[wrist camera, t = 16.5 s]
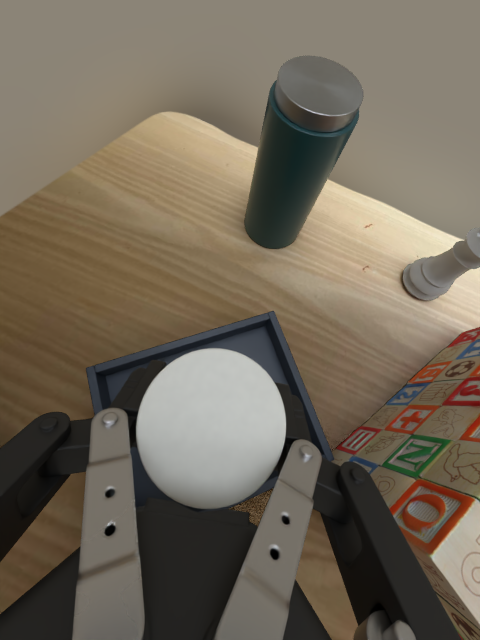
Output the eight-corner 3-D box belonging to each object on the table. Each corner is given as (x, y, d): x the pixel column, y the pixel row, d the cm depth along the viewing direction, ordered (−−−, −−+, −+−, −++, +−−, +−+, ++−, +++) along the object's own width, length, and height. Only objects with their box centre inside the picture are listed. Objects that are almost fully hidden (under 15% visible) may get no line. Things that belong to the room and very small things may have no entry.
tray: (132, 539, 18) (121, 558, 16) (98, 372, 21) (85, 367, 19) (321, 453, 21) (335, 459, 19) (267, 319, 25) (274, 310, 22)
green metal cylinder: (255, 254, 27) (296, 125, 14) (236, 208, 28) (258, 55, 16) (307, 241, 28) (385, 112, 16) (286, 197, 29) (342, 49, 17)
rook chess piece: (398, 260, 28) (467, 208, 21) (437, 268, 29) (518, 220, 21) (400, 297, 27) (475, 255, 19) (440, 305, 27) (529, 267, 20)
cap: (174, 494, 14) (157, 540, 9) (147, 384, 15) (120, 373, 11) (277, 450, 15) (309, 470, 10) (242, 352, 16) (256, 330, 12)
